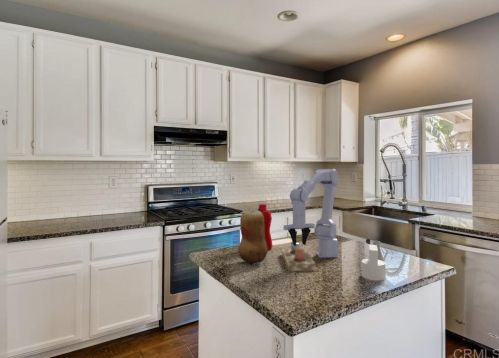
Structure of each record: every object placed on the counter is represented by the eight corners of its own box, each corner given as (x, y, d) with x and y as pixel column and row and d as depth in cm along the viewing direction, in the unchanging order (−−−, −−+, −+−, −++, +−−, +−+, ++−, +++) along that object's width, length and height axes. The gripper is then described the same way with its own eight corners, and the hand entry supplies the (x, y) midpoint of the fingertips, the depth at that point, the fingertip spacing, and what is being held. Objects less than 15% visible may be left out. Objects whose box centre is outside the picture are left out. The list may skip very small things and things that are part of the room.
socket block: (305, 254, 156) (305, 248, 156) (315, 270, 132) (315, 263, 132) (281, 255, 156) (281, 249, 156) (288, 270, 132) (287, 264, 132)
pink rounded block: (302, 257, 140) (302, 248, 140) (304, 260, 136) (304, 250, 136) (294, 258, 140) (294, 248, 140) (295, 260, 136) (295, 250, 136)
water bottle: (249, 248, 170) (248, 204, 169) (266, 246, 174) (266, 202, 173) (256, 252, 162) (255, 205, 161) (274, 249, 166) (273, 204, 165)
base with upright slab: (386, 281, 118) (386, 251, 118) (361, 279, 121) (361, 249, 121) (384, 274, 127) (384, 245, 126) (361, 271, 130) (361, 244, 129)
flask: (385, 261, 144) (385, 240, 144) (384, 265, 137) (384, 243, 137) (368, 259, 147) (368, 239, 147) (367, 263, 140) (367, 242, 140)
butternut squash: (232, 263, 143) (232, 211, 142) (252, 257, 153) (251, 208, 152) (254, 270, 133) (254, 214, 132) (273, 263, 143) (273, 210, 142)
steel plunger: (298, 250, 152) (298, 241, 152) (300, 253, 148) (299, 243, 148) (290, 250, 152) (290, 242, 152) (291, 253, 148) (291, 244, 148)
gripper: (309, 213, 143) (309, 241, 143) (280, 214, 139) (281, 243, 140) (316, 215, 136) (316, 245, 137) (286, 217, 132) (287, 247, 133)
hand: (299, 244), depth 138 cm, fingers open, 4 cm apart
